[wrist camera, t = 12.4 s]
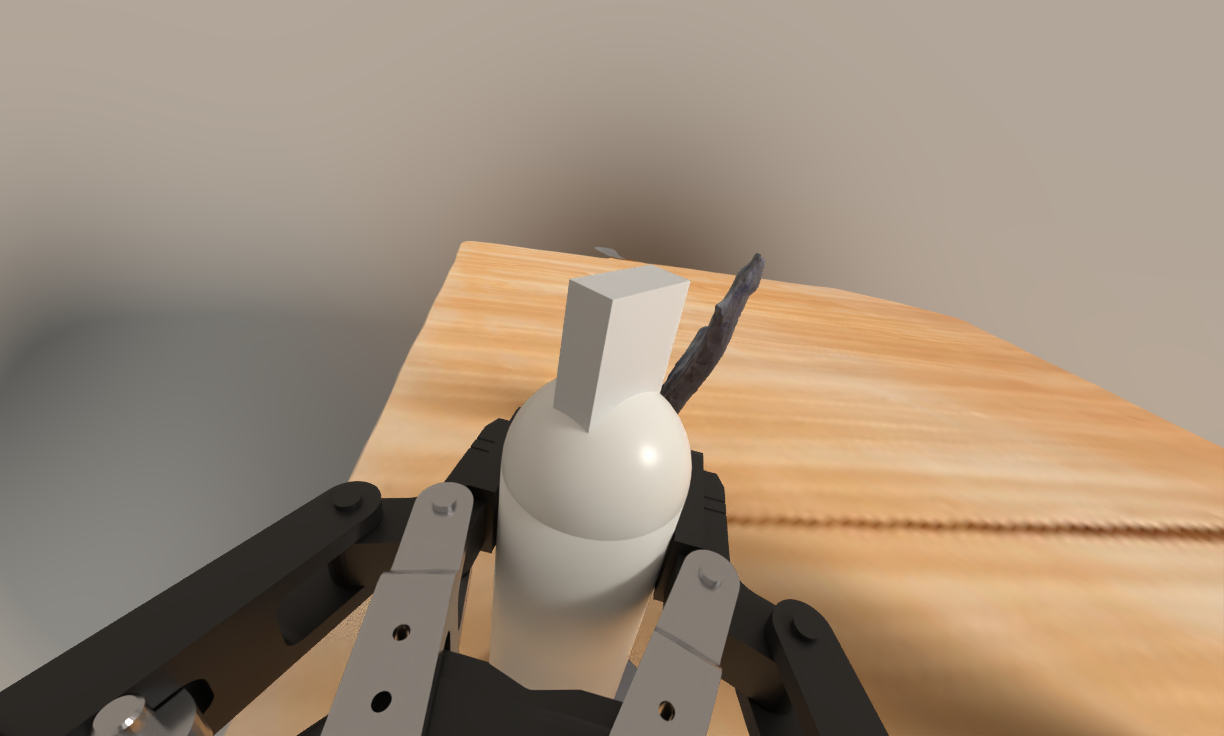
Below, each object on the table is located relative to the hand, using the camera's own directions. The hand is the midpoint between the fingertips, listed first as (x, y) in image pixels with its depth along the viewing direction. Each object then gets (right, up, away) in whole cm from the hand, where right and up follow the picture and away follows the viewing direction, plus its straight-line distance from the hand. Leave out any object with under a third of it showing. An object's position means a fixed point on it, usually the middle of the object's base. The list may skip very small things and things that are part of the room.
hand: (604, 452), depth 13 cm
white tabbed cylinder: (-2, -7, +1) cm, 8 cm away
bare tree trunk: (+5, -9, +31) cm, 33 cm away
